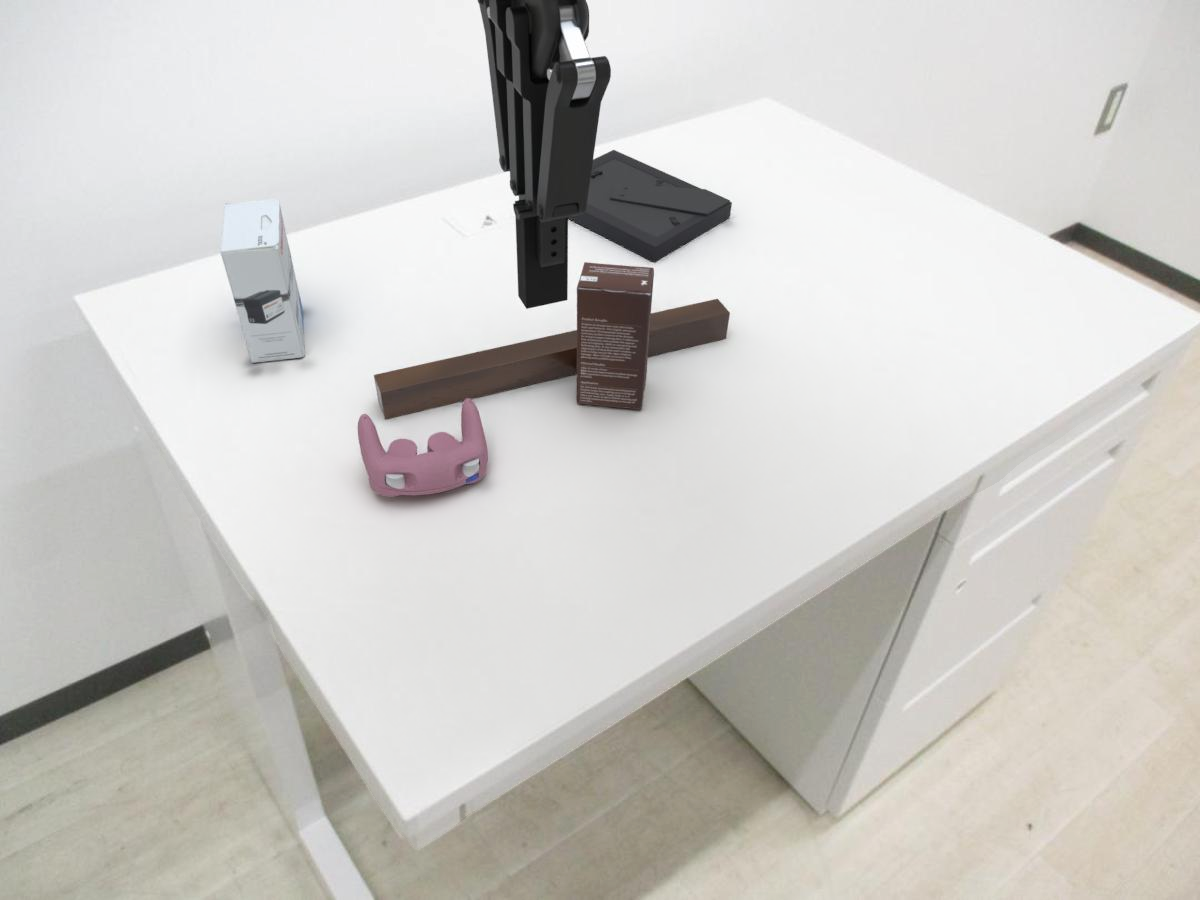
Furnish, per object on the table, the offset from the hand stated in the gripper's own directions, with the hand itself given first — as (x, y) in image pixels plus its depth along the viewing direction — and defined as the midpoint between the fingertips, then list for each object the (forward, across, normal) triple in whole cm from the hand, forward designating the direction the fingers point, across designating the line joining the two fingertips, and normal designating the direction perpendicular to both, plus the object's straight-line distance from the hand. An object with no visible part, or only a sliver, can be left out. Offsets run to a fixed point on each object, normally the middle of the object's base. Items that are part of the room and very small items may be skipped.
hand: (542, 297), depth 59 cm
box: (+21, +12, -11) cm, 26 cm away
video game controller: (+19, +11, +7) cm, 23 cm away
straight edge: (+20, +17, -8) cm, 28 cm away
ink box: (+20, +31, +15) cm, 40 cm away
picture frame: (+20, +41, -26) cm, 53 cm away
